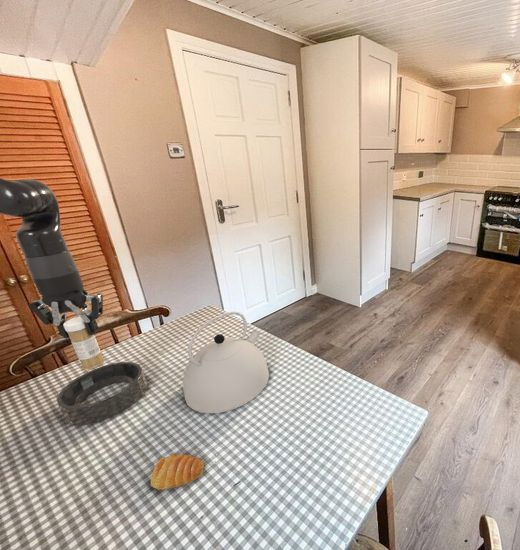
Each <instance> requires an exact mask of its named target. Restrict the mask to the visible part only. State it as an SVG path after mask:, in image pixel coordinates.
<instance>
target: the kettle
mask: <svg viewBox="0 0 520 550" xmlns="http://www.w3.org/2000/svg"><path fill="white" fill-rule="evenodd" d="M232 315H235V316H239V317H240V318H241V320H242V322H243V332H242V336H241V338H236V337H225V336H224V335H223V334H221V333H218V334H216V335H215V336H214V338H213V341H211V342H209V343H207V344H206V345H205V346H203V347H201V349H199V350H198V351H197V352H196V353H195V354H194V355H193V347H194V342H195V340H196V338H197V337H198V335H199V334H200V333H201V332H202V331H203V329H204V328H206V327H207V326H209V325H211V324H212V323H214V322H215V321H218V320H220V319H223V318H224V317H227V316H232ZM247 329H248V323H247V320H246V317H245V316H244V315H243V314H242V313H241V312H238V311H228V312H224V313H222V314H220V315H217V316H215V317H213V318H211V319H209V320H207V321H206V322H205V323H203V324H202V325H200V327H199V328H198V329H197V330H195V332H194V333H193V335H192V337H191V338H190V341H189V343H188V347H187V348H188V349H187V352H188V359H189V362H188V363H187V366H186V367H185V371H184V374H183V379H182V391H183V392H182V393H183V396H184V400H185V403H186V404H187V406H188V407H189V408H191V410H193V411H196V412H198V413H202V414H218V413H225V412H229V411H232V410H235V409H237V408H240V407H242V406H244V405H245V404H247V403H250V402H251V401H252V400H253V399H255V398H256V397H257V396H258V395H260V394H261V392H262V391H263V390H264V389H265V387H266V386H267V384H268V381H269V377H270V372H269V367H268V363H267V360H266V358H265V356H264V354H263V353H262V351H261V350H260V349H259V348H258V347H257V346H256V345H255V344H256V342H257V340H258V338H259V336H260V334H261V331H260V330H253V331H252V332H251V333H250V334H249V336H248V337H246V335H247Z"/></svg>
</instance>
